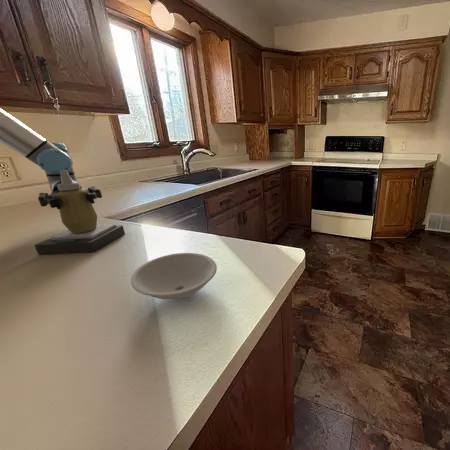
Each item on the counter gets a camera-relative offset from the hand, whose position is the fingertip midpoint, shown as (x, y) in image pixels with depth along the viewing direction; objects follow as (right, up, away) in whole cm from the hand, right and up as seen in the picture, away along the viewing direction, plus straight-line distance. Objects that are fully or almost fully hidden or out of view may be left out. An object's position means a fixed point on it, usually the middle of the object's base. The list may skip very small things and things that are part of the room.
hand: (75, 201), depth 68 cm
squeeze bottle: (-3, -8, +7) cm, 11 cm away
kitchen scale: (-3, -12, +7) cm, 14 cm away
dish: (+38, -20, -19) cm, 47 cm away
